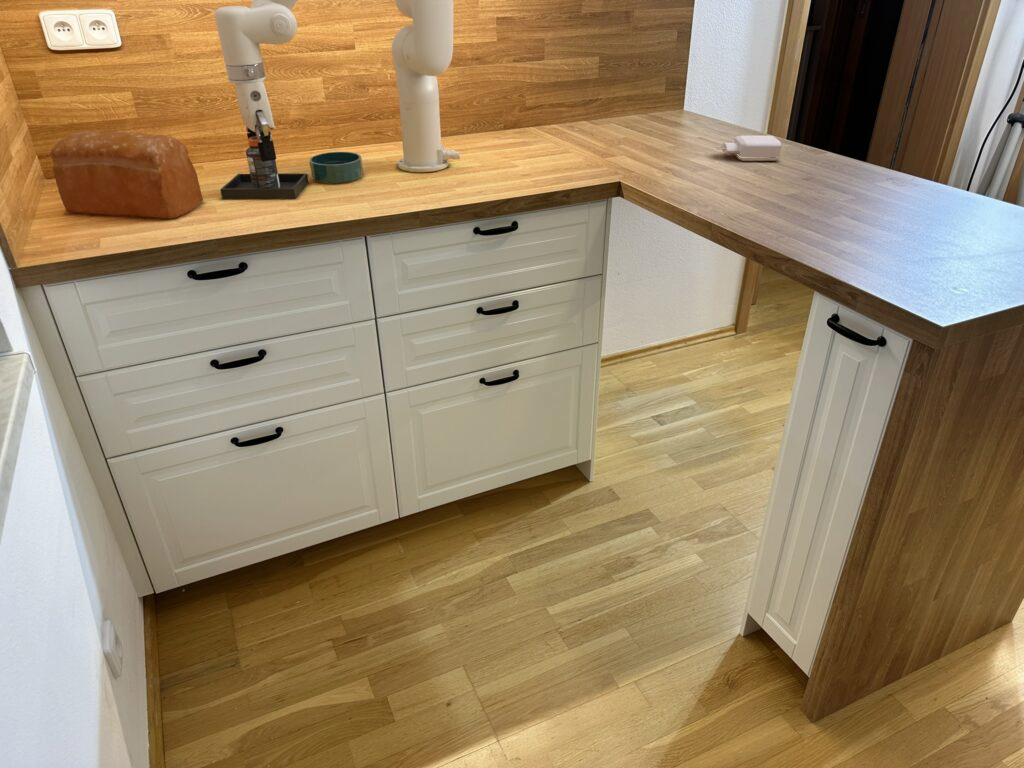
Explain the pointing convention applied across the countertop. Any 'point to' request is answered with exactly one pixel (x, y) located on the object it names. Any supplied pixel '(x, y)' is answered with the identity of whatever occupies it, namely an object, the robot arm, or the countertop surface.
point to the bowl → (336, 167)
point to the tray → (244, 190)
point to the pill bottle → (261, 168)
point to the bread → (125, 174)
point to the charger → (753, 148)
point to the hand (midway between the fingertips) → (263, 155)
